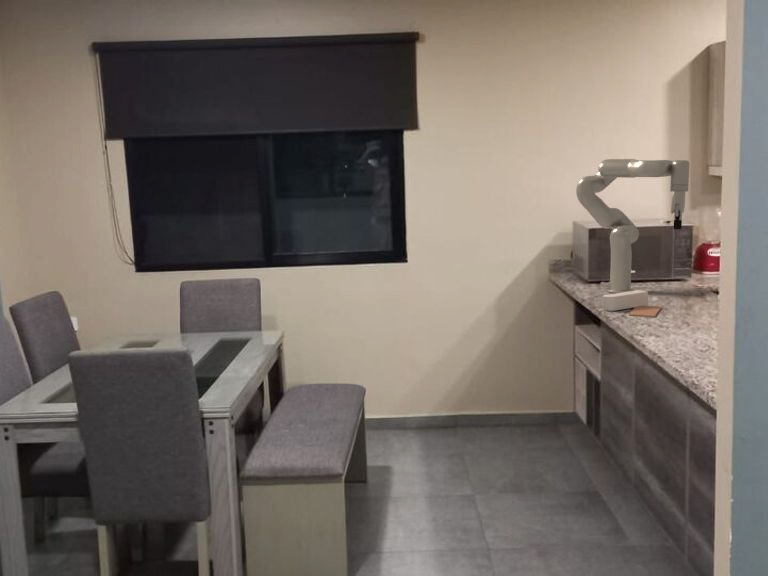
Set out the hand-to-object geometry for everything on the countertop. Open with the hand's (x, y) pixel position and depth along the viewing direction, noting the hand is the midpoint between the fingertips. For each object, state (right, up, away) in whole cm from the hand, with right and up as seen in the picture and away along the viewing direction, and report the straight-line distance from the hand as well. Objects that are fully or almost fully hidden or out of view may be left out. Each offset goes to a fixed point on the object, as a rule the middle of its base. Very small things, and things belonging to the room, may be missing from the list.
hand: (677, 229), depth 341 cm
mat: (-24, -37, -27) cm, 51 cm away
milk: (-20, -31, -15) cm, 40 cm away
